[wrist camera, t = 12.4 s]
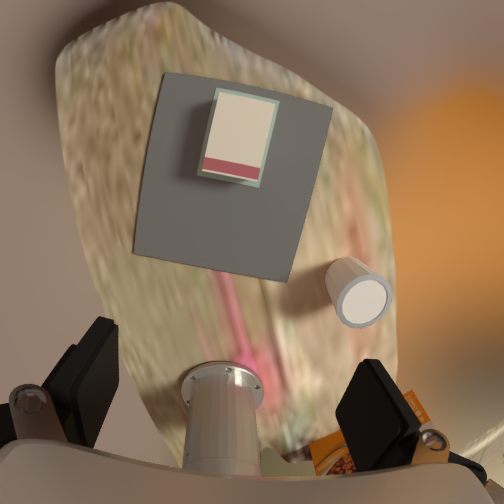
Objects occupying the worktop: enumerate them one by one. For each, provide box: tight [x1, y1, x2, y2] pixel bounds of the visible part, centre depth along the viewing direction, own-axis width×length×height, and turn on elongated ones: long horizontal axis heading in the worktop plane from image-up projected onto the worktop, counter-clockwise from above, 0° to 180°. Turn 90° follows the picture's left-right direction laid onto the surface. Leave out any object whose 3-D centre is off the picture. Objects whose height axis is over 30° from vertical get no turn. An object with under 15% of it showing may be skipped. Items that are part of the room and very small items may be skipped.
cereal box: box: [309, 390, 436, 476], centre depth 36 cm, size 22×6×30 cm, turn 123°
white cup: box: [325, 256, 392, 328], centre depth 35 cm, size 7×7×7 cm
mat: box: [134, 72, 333, 283], centre depth 33 cm, size 22×19×1 cm
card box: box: [202, 92, 275, 182], centre depth 30 cm, size 8×6×4 cm
